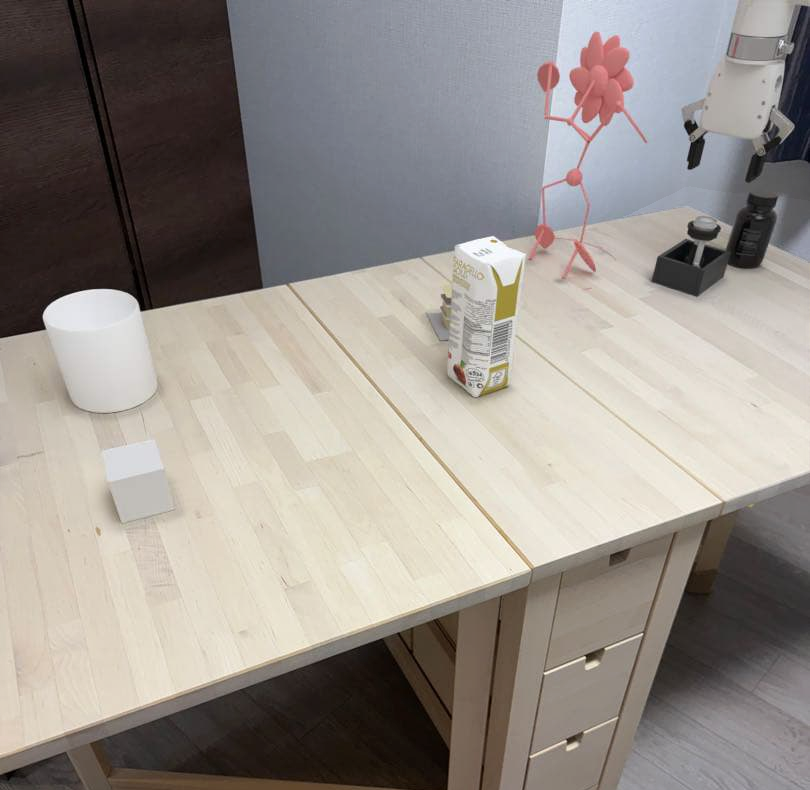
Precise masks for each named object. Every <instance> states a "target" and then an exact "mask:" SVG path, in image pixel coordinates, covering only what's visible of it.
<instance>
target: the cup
mask: <svg viewBox="0 0 810 790" xmlns="http://www.w3.org/2000/svg"><path fill="white" fill-rule="evenodd" d="M42 321H43V324H44V327H45V330H46V333H47V335H48V338H49V341H50V343H51V346H52V350H53V353H54V355H55V357H56V361H57V364H58V367H59V370H60V373H61V376H62V378H63V381H64V384H65V387H66V390H67V393H68V396H69V399H70V401H71V402H72V404H73V405H74V406H76V407H77V408H79V409H81V410H83V411H86V412H91V413H95V414H96V413H99V414H110V413H118V412H123V411H127V410H131V409H133V408H136V407H138V406H140V405H142V404H143V403H146V402H147V401H148V400H150V398H152V396H153V395H154V394H155V393H156V391H157V389H158V387H159V386H158V385H159V382H158V376H157V372H156V369H155V364H154V361H153V357H152V352H151V349H150V345H149V341H148V337H147V332H146V328H145V325H144V324H145V323H144V321H143V317H142V312H141V309H140V304H139V302H138V300H137V299H136V298H135V297H134V296H133V295H131V294H130V293H128V292H126V291H125V292H124V291H122V290H117V289H109V288H96V289H95V288H94V289H86V290H82V291H77V292H73V293H69V294H67V295H64V296H62V297H59V298H58V299H56V300H54V301H52V302H51V303H50V304H49V305H47V306H46V308H45V309H44V311H43V314H42Z"/></svg>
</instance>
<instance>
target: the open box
mask: <svg viewBox="0 0 810 790" xmlns="http://www.w3.org/2000/svg"><path fill="white" fill-rule="evenodd" d="M694 241H695V240H693V239H688V238H684V239H682V240H681V241H679V242H678V243H676V244H675V245H673V246H672V247H670V248H669V249H667V250H665V251H664V252H662V253H661V254H659V255H658V256H657V258H656V262H655V266H654V269H653V274H652V276H651V277H652V278H651V283H653V284H654V283H655V284H657V285H660V286H663V287H667V288H670V289H673V290H676V291H679V292H682V293H684V294H688V295H690V296H694V297H699V296H700V295H701V294H703V293H705V291H707V290H708V289H709V288H710V287H712V286H713V285H715V284H717V282H719V281H721V279H723V278H724V276H725V273H726V271H727V267H728V264H729V263H728V261H729V258H730V255H731V252H729V251H726V249H723V248H719V247H715V246H712V245H709V244H706V243H705V247H704V250H703V253H704V255H703V257H704V263H703V265H702V268H700V267H696V266H693V265H690V264H687V263H683V261H684V258H686V256H687V255H689V253H690V250H691V249H692V247H693V243H694Z"/></svg>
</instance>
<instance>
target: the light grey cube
mask: <svg viewBox="0 0 810 790" xmlns="http://www.w3.org/2000/svg"><path fill="white" fill-rule="evenodd" d="M100 455H101V459H102V464H103V467H104V472H105V477H106V480H107V484H108V487H109V489H110V492H111V496H112V499H113V502H114V504H115V507H116V510H117V513H118V516H119V519H120V522H121V524H125V523H129V522H133V521H136V520H140V519H141V520H142V519H144V518H148V517H152V516H156V515H161V514H164V513H168V512H172V511H176V507H175V503H174V500H173V496H172V492H171V488H170V485H169V481H168V477H167V474H166V468H165V466H164V463H163V461H162V458H161V454H160V451H159V447H158V445H157V443H156V439H155V438H152V439H147V440H144V441H138V442H134V443H130V444H126V445H121V446H116V447H111V448H108V449H104V450H100Z"/></svg>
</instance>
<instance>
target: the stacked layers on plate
mask: <svg viewBox="0 0 810 790" xmlns="http://www.w3.org/2000/svg"><path fill="white" fill-rule="evenodd" d="M440 288H441V290H442V292H443V293H440V298H441V300H442V305H440V306H439V310H440V311H439V312H430V313H429V312H428V313H426V316H427V317H428V319H429V322H430V323H431V325H432V327H433V330H434V332H435V334H436V335H437V337H438V340H439V341H447V340H448V341H449V330H450V313H451V295H452V284H448V285H447V284H446V285H442V286H440Z"/></svg>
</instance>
